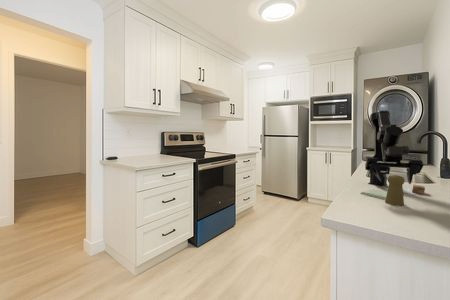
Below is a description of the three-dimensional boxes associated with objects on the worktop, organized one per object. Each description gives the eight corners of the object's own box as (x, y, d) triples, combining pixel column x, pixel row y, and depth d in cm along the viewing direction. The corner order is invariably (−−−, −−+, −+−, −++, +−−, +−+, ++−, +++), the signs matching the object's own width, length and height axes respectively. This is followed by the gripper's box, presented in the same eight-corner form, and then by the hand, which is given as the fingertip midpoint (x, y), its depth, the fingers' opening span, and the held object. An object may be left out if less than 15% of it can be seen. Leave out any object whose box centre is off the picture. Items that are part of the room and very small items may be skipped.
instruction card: (383, 189, 110) (383, 188, 110) (389, 186, 116) (389, 185, 116) (415, 194, 101) (415, 193, 101) (419, 191, 107) (419, 190, 107)
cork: (408, 206, 85) (410, 177, 84) (392, 205, 85) (394, 177, 85) (396, 201, 91) (398, 174, 90) (381, 201, 91) (383, 174, 91)
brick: (412, 192, 103) (413, 186, 103) (412, 190, 106) (413, 184, 106) (423, 194, 101) (424, 188, 100) (423, 192, 104) (424, 186, 104)
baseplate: (360, 193, 102) (360, 191, 102) (373, 190, 108) (373, 188, 107) (386, 200, 93) (386, 197, 93) (399, 196, 98) (399, 193, 98)
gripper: (367, 138, 96) (370, 168, 86) (423, 139, 88) (433, 171, 79) (363, 155, 103) (366, 184, 94) (415, 157, 96) (423, 189, 86)
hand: (395, 182), depth 88 cm, fingers open, 9 cm apart
